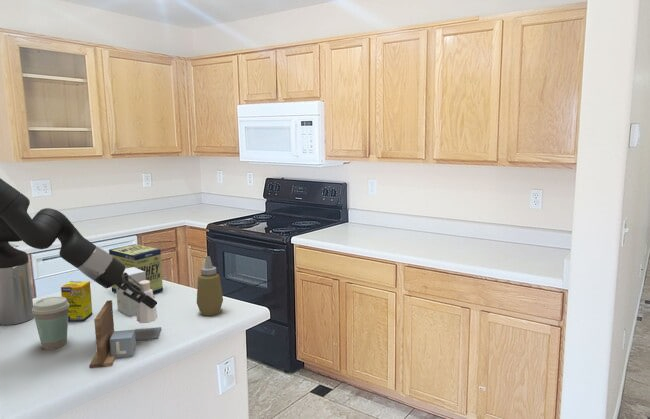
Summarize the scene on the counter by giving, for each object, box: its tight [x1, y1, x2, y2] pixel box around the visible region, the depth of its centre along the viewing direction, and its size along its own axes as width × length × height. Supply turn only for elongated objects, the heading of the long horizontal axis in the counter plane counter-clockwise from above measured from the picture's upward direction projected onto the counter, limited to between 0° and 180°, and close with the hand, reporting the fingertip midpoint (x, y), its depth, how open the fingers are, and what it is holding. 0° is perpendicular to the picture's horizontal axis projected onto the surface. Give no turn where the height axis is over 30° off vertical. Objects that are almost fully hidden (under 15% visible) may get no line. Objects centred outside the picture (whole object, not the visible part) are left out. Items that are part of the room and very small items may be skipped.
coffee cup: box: [32, 296, 69, 350], centre depth 123 cm, size 8×9×12 cm
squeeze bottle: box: [196, 255, 224, 316], centre depth 145 cm, size 8×8×18 cm
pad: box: [134, 326, 162, 342], centre depth 130 cm, size 7×7×1 cm
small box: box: [116, 267, 146, 317], centre depth 147 cm, size 8×6×13 cm
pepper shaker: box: [136, 280, 158, 324], centre depth 129 cm, size 5×5×11 cm
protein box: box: [108, 243, 164, 296], centre depth 165 cm, size 10×16×16 cm
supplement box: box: [60, 280, 93, 323], centre depth 141 cm, size 6×6×11 cm
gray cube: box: [110, 329, 137, 359], centre depth 119 cm, size 5×5×5 cm
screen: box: [89, 299, 117, 369], centre depth 118 cm, size 5×13×12 cm, turn 13°
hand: (153, 302), depth 130 cm, fingers closed on pepper shaker, 4 cm apart
